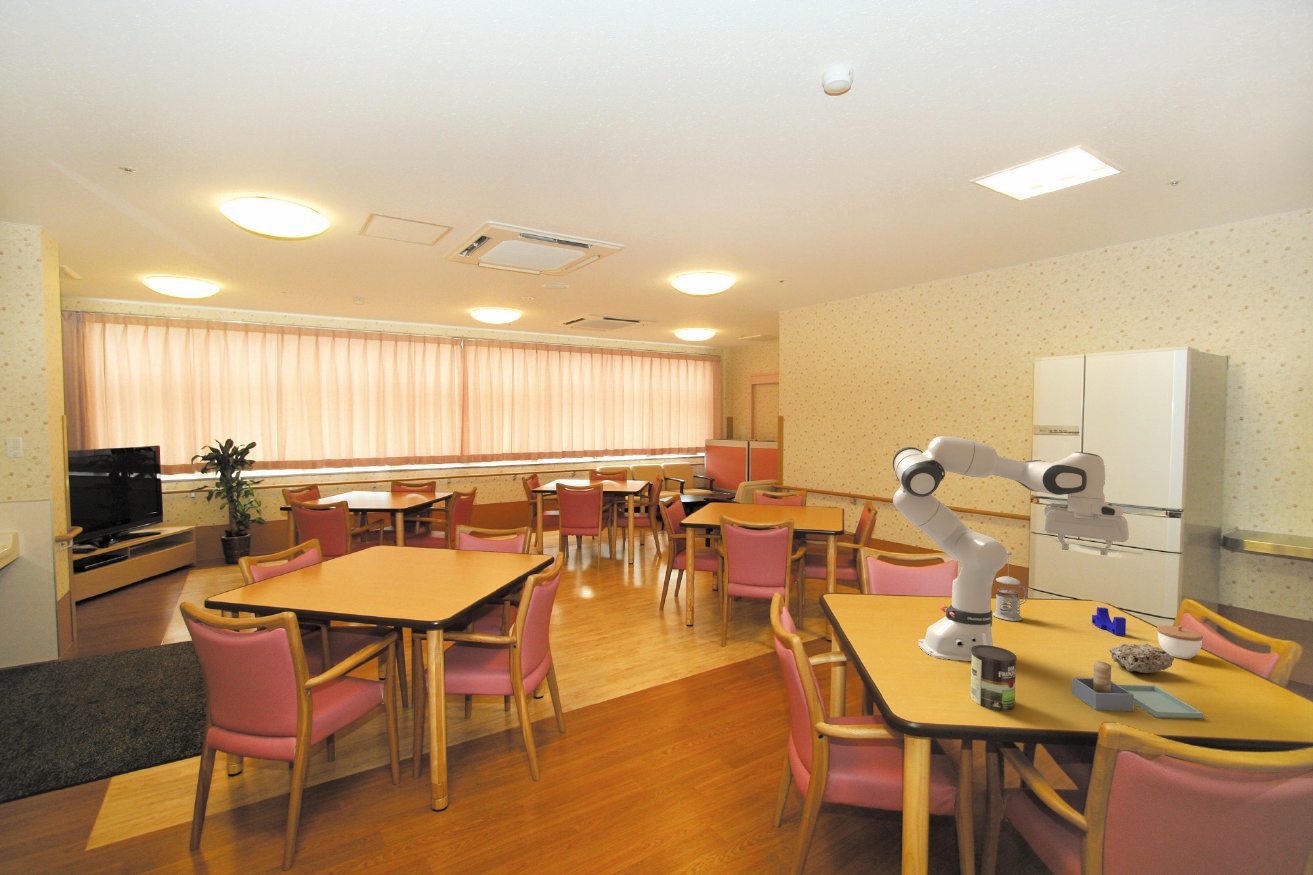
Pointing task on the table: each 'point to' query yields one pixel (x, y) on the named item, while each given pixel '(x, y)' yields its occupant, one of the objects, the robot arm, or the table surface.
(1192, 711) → the tray
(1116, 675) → the table surface
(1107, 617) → the cable clip
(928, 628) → the robot arm
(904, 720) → the table surface
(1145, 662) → the pumice stone
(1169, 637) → the lidded jar
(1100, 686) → the dowel
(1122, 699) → the grey open box
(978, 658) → the coffee can
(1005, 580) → the french press
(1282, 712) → the table surface
